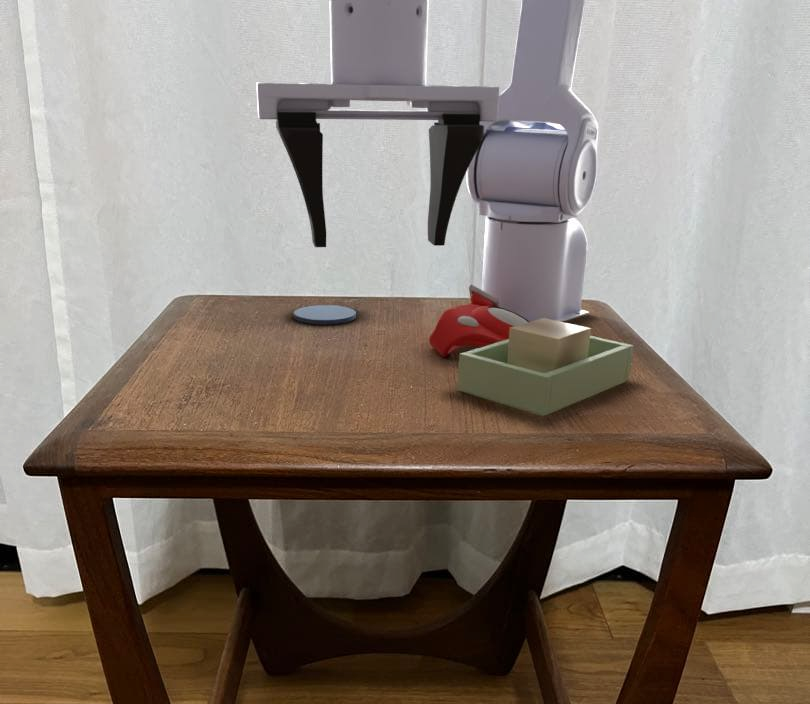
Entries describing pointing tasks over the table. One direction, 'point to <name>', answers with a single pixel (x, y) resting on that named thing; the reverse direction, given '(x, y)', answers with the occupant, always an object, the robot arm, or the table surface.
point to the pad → (324, 314)
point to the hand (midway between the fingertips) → (378, 244)
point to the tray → (543, 376)
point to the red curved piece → (474, 324)
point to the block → (547, 345)
